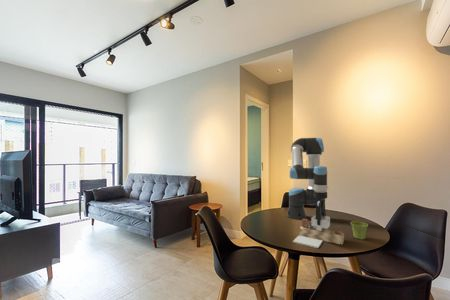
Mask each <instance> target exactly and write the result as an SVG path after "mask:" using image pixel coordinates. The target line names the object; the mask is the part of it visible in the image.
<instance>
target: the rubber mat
mask: <svg viewBox="0 0 450 300" xmlns="http://www.w3.org/2000/svg"><path fill="white" fill-rule="evenodd" d="M323 242H324V241H322V240H318V239H313V238H309V237H304V236H300V235H298V236H296V237H295V238H294V240H292V243H294V244H298V245H302V246H306V247H311V248H314V249H319V248H320V247H321V245H322V244H323Z"/></svg>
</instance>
